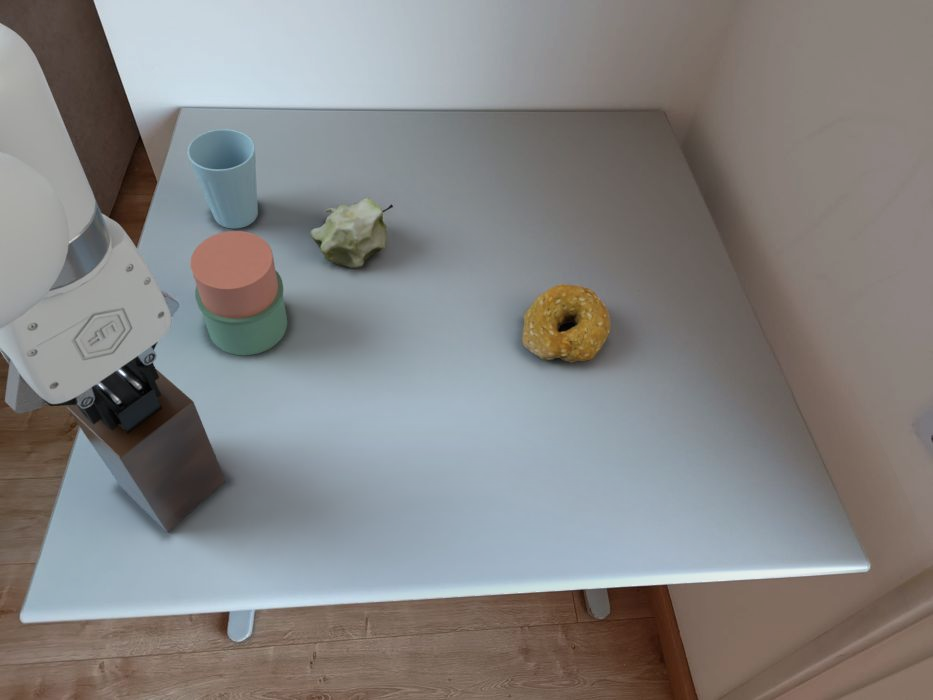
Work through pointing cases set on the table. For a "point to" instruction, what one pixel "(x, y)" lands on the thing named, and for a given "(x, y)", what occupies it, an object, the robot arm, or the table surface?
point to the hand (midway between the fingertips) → (125, 401)
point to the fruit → (352, 233)
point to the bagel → (564, 308)
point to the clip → (128, 398)
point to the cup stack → (239, 292)
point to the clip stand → (160, 457)
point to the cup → (227, 175)
